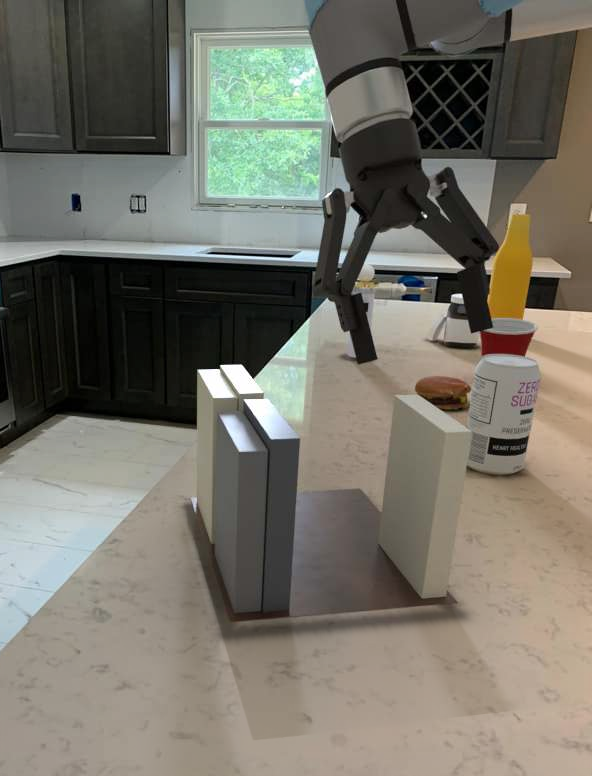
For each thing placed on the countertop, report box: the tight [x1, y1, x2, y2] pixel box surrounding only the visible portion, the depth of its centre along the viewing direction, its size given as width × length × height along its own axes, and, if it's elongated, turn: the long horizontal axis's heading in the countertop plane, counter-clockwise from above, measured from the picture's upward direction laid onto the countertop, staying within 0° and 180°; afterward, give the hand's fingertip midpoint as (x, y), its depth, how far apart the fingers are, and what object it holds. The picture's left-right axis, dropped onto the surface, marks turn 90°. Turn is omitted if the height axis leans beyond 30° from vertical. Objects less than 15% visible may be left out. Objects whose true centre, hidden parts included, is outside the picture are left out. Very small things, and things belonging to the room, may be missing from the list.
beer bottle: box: [487, 213, 534, 320], centre depth 181 cm, size 9×9×29 cm
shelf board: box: [189, 488, 459, 623], centre depth 76 cm, size 21×26×2 cm
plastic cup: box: [479, 318, 539, 361], centre depth 139 cm, size 11×11×12 cm
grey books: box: [215, 398, 301, 613], centre depth 65 cm, size 5×11×16 cm, turn 10°
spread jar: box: [427, 293, 480, 350], centre depth 172 cm, size 12×11×12 cm
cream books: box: [196, 364, 265, 544], centre depth 77 cm, size 5×11×16 cm, turn 10°
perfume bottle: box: [347, 263, 380, 359], centre depth 155 cm, size 6×6×20 cm
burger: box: [414, 375, 472, 411], centre depth 127 cm, size 10×9×5 cm
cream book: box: [378, 393, 472, 599], centre depth 68 cm, size 2×11×16 cm, turn 10°
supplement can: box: [465, 354, 542, 476], centre depth 98 cm, size 8×8×15 cm
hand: (426, 346), depth 73 cm, fingers open, 13 cm apart
